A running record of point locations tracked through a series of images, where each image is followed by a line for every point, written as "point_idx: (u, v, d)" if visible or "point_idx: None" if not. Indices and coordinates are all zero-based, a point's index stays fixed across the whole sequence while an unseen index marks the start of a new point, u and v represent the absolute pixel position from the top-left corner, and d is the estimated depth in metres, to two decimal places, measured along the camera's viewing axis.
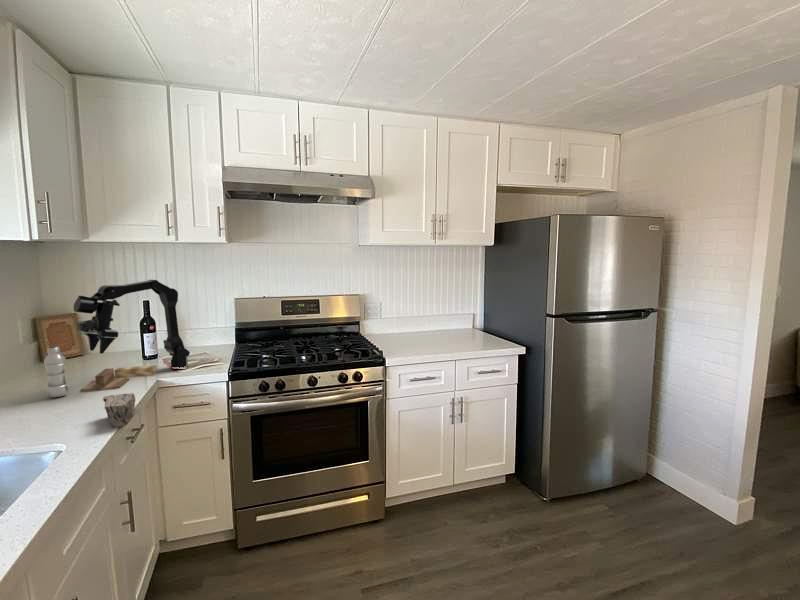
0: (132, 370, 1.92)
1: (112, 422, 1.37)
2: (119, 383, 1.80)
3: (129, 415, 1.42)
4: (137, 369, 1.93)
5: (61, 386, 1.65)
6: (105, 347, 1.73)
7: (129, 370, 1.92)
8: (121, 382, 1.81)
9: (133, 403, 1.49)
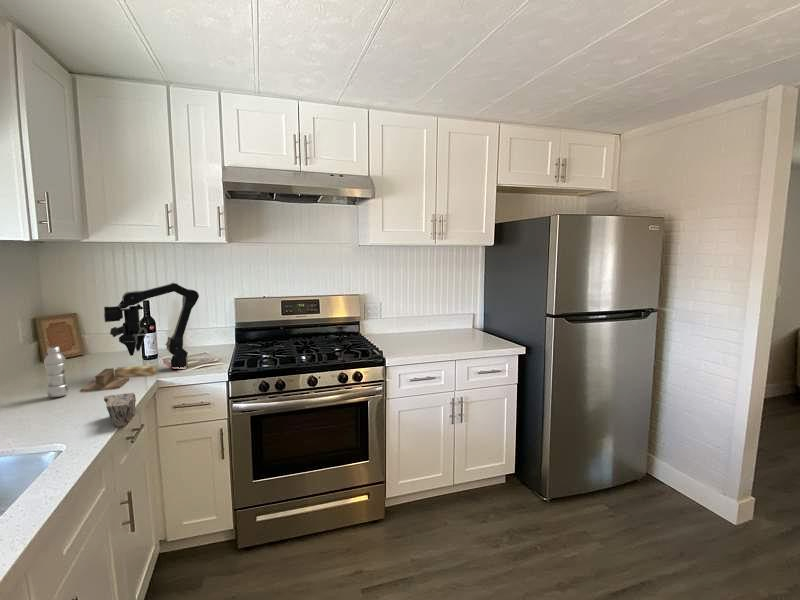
0: (132, 370, 1.92)
1: (114, 422, 1.38)
2: (119, 383, 1.80)
3: (131, 415, 1.42)
4: (137, 369, 1.93)
5: (61, 386, 1.65)
6: (132, 350, 1.88)
7: (129, 370, 1.92)
8: (121, 382, 1.81)
9: (134, 403, 1.49)
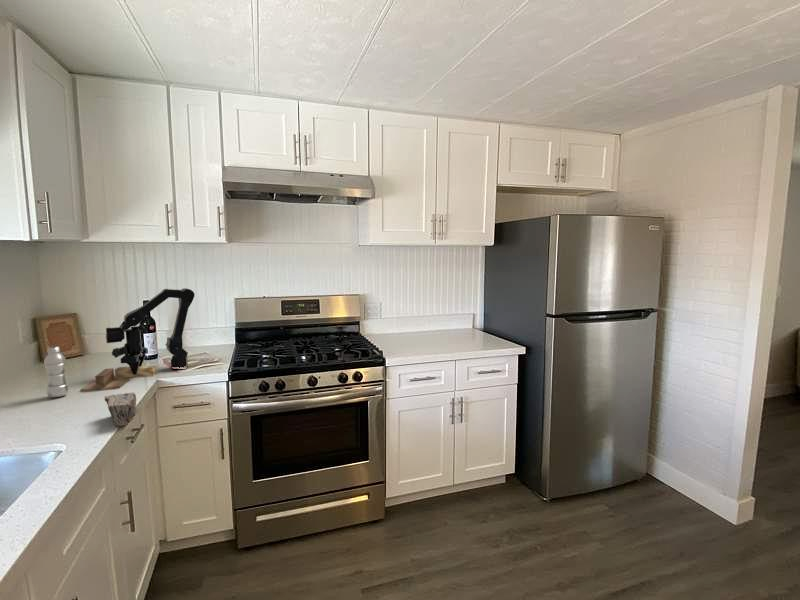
0: None
1: (116, 421, 1.38)
2: (119, 383, 1.80)
3: (132, 414, 1.43)
4: None
5: (61, 386, 1.65)
6: (135, 369, 1.91)
7: (129, 370, 1.92)
8: (121, 382, 1.81)
9: (134, 402, 1.50)
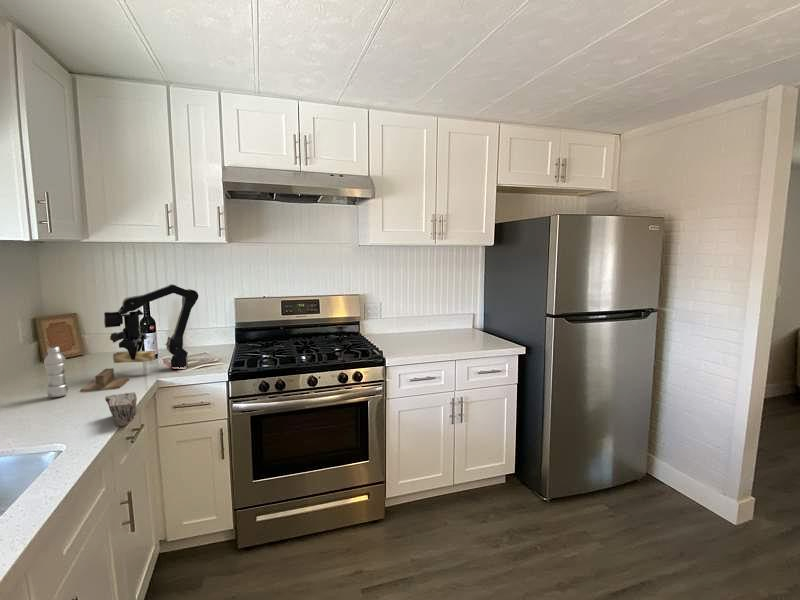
0: None
1: (117, 421, 1.38)
2: (119, 383, 1.80)
3: (133, 414, 1.43)
4: None
5: (61, 386, 1.65)
6: (133, 354, 1.90)
7: (127, 355, 1.91)
8: (121, 382, 1.81)
9: None
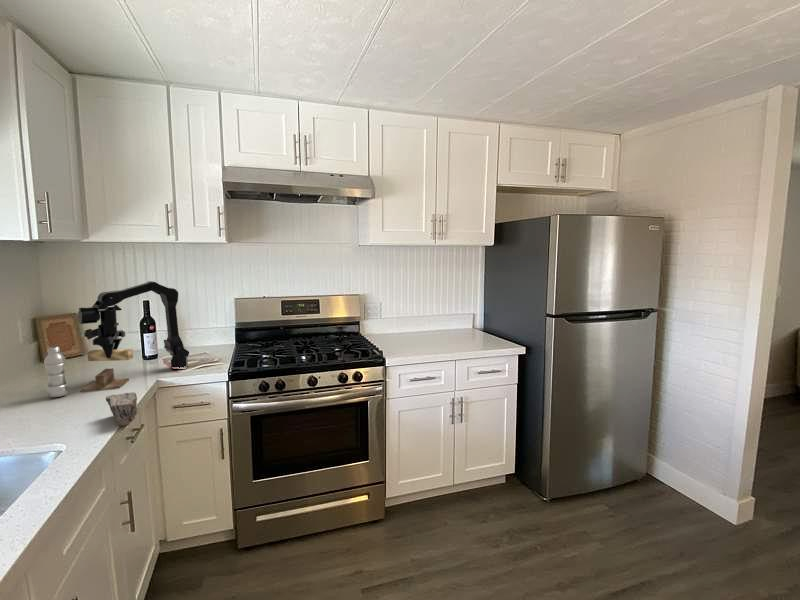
0: None
1: (118, 421, 1.38)
2: (119, 383, 1.80)
3: (134, 413, 1.43)
4: None
5: (61, 386, 1.65)
6: (109, 352, 1.79)
7: (102, 353, 1.80)
8: (121, 382, 1.81)
9: (135, 402, 1.50)
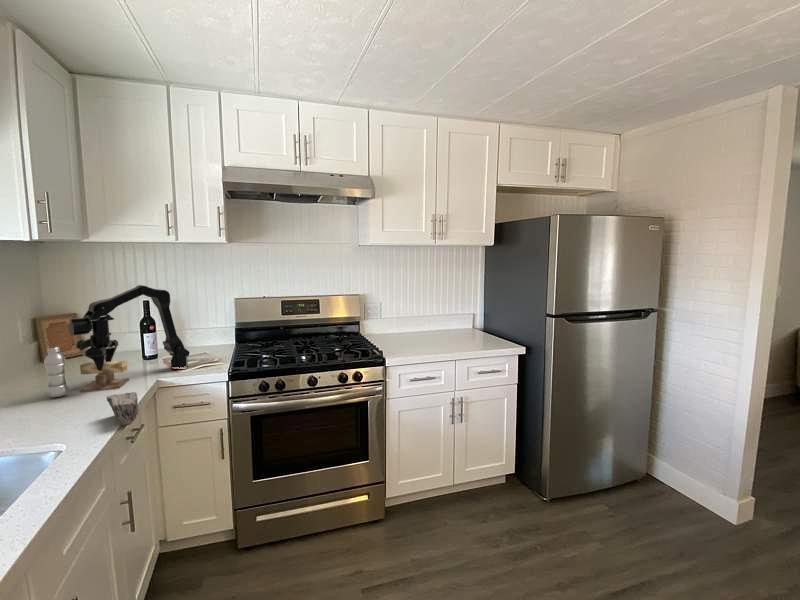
0: None
1: (120, 420, 1.39)
2: (119, 383, 1.80)
3: (136, 413, 1.44)
4: (104, 365, 1.77)
5: (61, 386, 1.65)
6: (100, 364, 1.74)
7: (95, 365, 1.77)
8: (121, 382, 1.81)
9: None
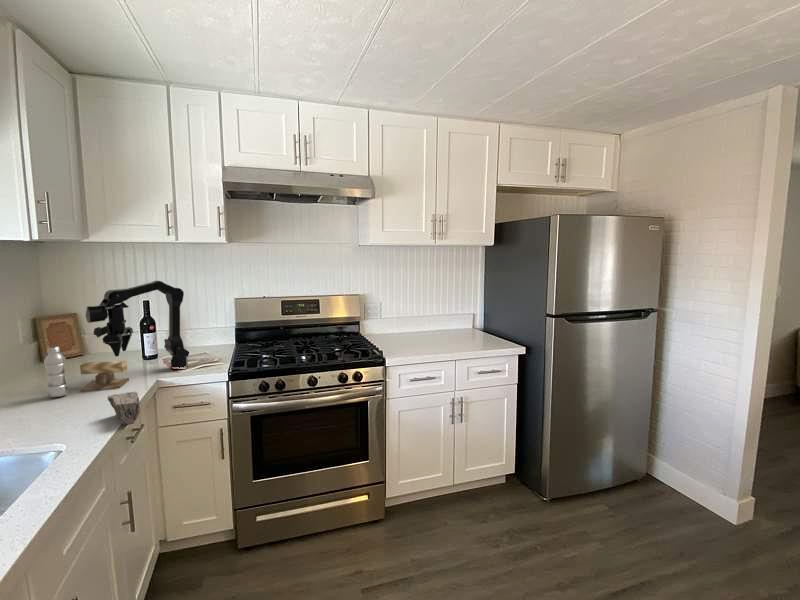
0: (99, 366, 1.77)
1: (123, 420, 1.39)
2: (119, 383, 1.80)
3: (138, 412, 1.44)
4: (104, 365, 1.77)
5: (61, 386, 1.65)
6: (117, 350, 1.80)
7: (95, 365, 1.77)
8: (121, 382, 1.81)
9: None
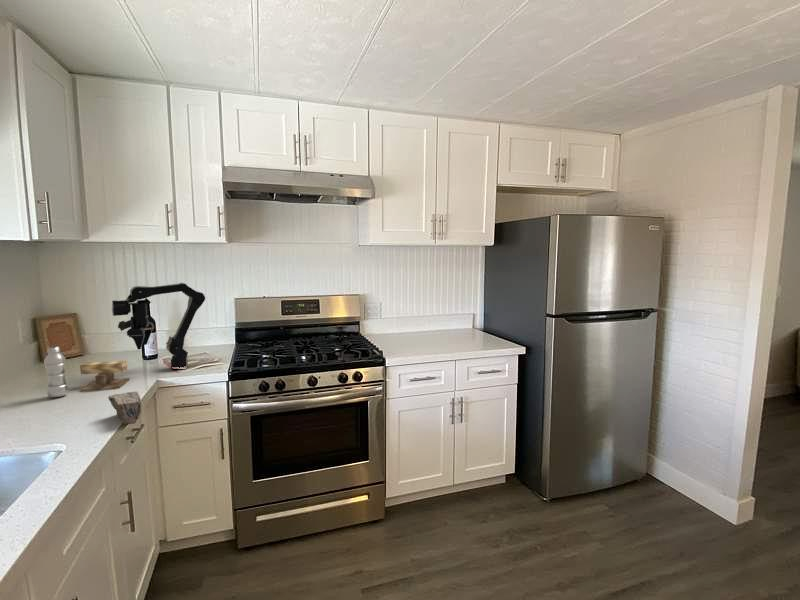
0: (99, 366, 1.77)
1: (125, 419, 1.40)
2: (119, 383, 1.80)
3: (140, 412, 1.45)
4: (104, 365, 1.77)
5: (61, 386, 1.65)
6: (139, 343, 1.89)
7: (95, 365, 1.77)
8: (121, 382, 1.81)
9: None
